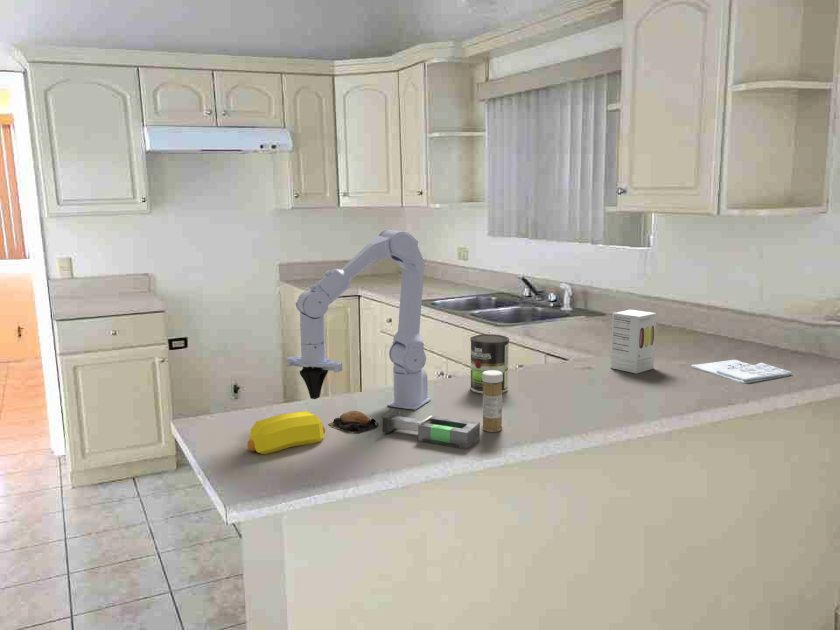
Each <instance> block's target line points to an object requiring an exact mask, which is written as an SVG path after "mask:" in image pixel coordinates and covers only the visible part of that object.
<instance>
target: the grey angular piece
mask: <svg viewBox="0 0 840 630" xmlns="http://www.w3.org/2000/svg"><path fill="white" fill-rule="evenodd" d="M400 414H401V413H400V409H393V410H392V411H391V412H389V413H387V414H386V415H383V416H381V419H382V434H386V435H387V434H388V435H389V433H391V432H392V431H393V430H395V429H398V430H404V431H405V430H406V431H410V432H417V433H418V425H419V424H425V423H428V424H432V421H429V420H430V419H432V418H433V416H434V415H429V416H428V417H426V418H425V419H420V418H413V417H407V416H406V417H405V416H401V415H400Z"/></svg>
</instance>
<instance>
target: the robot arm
mask: <svg viewBox="0 0 840 630" xmlns="http://www.w3.org/2000/svg"><path fill="white" fill-rule="evenodd" d="M418 244H419V241H418V239H416V238H415V237H414V236H413V235H412V234H411V233H410V232H408V231H404V230H394V229H391V228H390V229H389V228H388V229H384V230H382V231H380V233H379V234H378V235H375V236H373V238H372V239H371V240H370V241H369V243H367V244H366V245H365V246H364V247H363V248H362V249H361V250H360V251H359V252H358V253H357V254H356V255H354V257H352V258H351V259H350V260H349V261H348V262H347V263H346V264H345V265H343V267H342V268H333V269H332V270H329V269H328V270H327V271H326V272H325V273H324V275H325V276H324V277H323V278H322V279H320V280H319V281H318V282H316V283H315V284H311V285H310V286H309V288H310V290H309V289H308V290H304V291H302V292H301V293H300V294H299V296H298V297H297V298H298V299H297V301H296V302H295V306H296V309H297V311H298V312H299V321H300V323H299V331H300V353H301V354H300V355H301V356H288V357H286V358H285V359H286V362H285V363H286V367H299V368H302V369H301V370H299V376H301V378H302V380H303V381H304V383H305V386H306V388H307V392H308V394H309V397H310V399H311V400H317V399H319V398H320V397H321V394H322V393H321V391H322V387H323V384H324V381H325V379H326V378H327V375H328V373H329V371H331V372H334V373H340V372H342V371H343V362H340V361H336V360H332V359H330V358H329V359H328V358H327V350H326V347H327V346H326V345H327V344H326V325H325V324H326V323H325V315H326V314H327V312H328V310H329V305H331V304H332V303H333V302H335V300H337V299H338V298H339V297H340V296H342V295H343V294H344V293H345V292H346V291H347V290H348V289H349V288H350V287H351V280H352V279H354V278H355V277H356V276H357V275H359V274H360V273H361V272H362V271H364V270H365V269H366V268H367V267H369V266H370V265H371V264H373V263H374V262H375V261H378V260H384V259H385V260H386V259H392V260H393V261H395V262H396V264H397V265H398V266H399V267H400V268H401V269H402V270H401V282H400V283H401V284H400V285H401V286H400V295H399V297H400V299H399V312H398V326H397V331H396V333H395V334H394V335H393V340H392V344H391V346H390V348H389V351H388V358H389V359H390V361H391V362H392V363H393V368H392V371H393V372H392V375H393V377H392V378H393V379H392V381H393V400H392V401H390V402H389V403H387V404H386V405H387V407H392V408H400V409H406V410H414V411H416V410H417V409H419V408H420V407H422V406H423V405H425V404H427V403H428V402H429V401H431V400H432V398H431V397H428V394H429V393H428V391H429V388H428V385H429V384H428V381H429V380H428V374H427V372H426V370H425V369H424V367H425V365H426V362H427V356H426V353H425V348H424V346H425V345H424V344H425V343H424V341H423V337H421V334H420V329H421V328H420V327H421V316H422V315H421V314H422V303H423V291H424V290H423V288H424V277H425V276H424V275H425V259H424V258H423V256H422V253H421V250H420V247H419V245H418Z"/></svg>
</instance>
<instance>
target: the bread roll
mask: <svg viewBox="0 0 840 630" xmlns="http://www.w3.org/2000/svg"><path fill="white" fill-rule="evenodd" d="M327 425H328V426H330V427H333V428H334V429H335V428H336V429H338V430H341V431H344V432H348V433H352V434H356V435H357V434H358V435H360V434H363V433H366V432H368V431H372V430H375V429H377V428H378V427H379V423H378V422H377V420H376V419H375V418H371V419H370V418H369V417H368V416H367V415H366V414H365V413H363V412H361V411H358V410H349V411H347V412H344V413H341V415H340V416H339V417H335V418H334V419H333V421H332V422H329V423H328V424H327Z"/></svg>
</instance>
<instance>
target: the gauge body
mask: <svg viewBox="0 0 840 630" xmlns="http://www.w3.org/2000/svg"><path fill="white" fill-rule="evenodd" d="M432 416H433V418H432V419H430V420H429V421H432V424H428V423H425V424H419V425H418V432H417V436H418V438H417V439H418V440H417V441H418V442H419V443H428V444H434V445H440V446H446V447H452V448H458V449H465V450H468V449H470V447H472V446H473V445H474V444H475V443H476V442H478V440H480V438H481V429H480V428H481V423H480V421H479V422H478V421H474V420H473V421H472V420H465V419H457V418H452V417H445V416H436V415H432Z"/></svg>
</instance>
